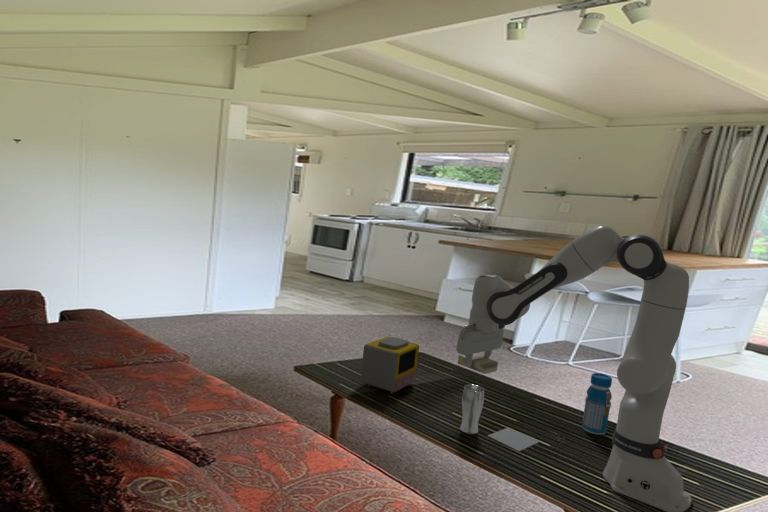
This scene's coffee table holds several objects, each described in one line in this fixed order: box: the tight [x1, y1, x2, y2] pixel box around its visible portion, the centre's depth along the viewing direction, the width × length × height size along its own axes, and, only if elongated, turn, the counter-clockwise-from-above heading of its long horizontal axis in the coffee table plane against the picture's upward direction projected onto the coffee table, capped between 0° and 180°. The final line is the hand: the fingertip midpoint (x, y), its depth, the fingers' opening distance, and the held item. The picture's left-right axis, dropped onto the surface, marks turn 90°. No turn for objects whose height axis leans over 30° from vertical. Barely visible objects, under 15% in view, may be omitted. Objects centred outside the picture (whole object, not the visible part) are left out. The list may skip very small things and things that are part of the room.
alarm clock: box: [360, 336, 420, 395], centre depth 204 cm, size 20×16×18 cm
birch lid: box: [457, 353, 499, 375], centre depth 168 cm, size 11×7×3 cm, turn 42°
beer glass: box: [459, 384, 485, 435], centre depth 170 cm, size 7×7×15 cm
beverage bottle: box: [581, 372, 613, 436], centre depth 181 cm, size 8×8×20 cm
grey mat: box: [487, 427, 540, 452], centre depth 167 cm, size 12×12×1 cm
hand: (477, 364), depth 168 cm, fingers closed on birch lid, 7 cm apart
